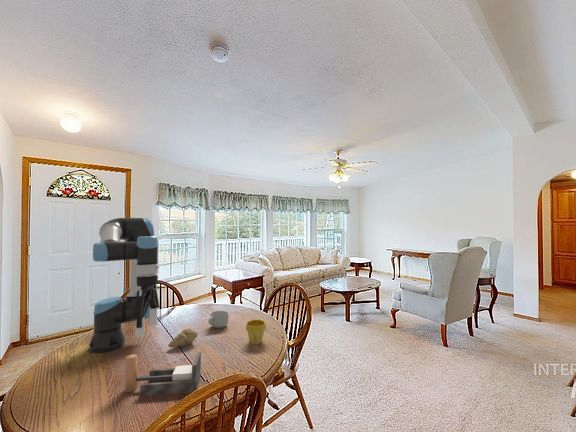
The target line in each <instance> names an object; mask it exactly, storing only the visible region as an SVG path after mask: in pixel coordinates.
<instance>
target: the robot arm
mask: <svg viewBox="0 0 576 432" xmlns="http://www.w3.org/2000/svg"><path fill="white" fill-rule="evenodd" d="M98 235H99V237H100V242H96V243H95V242H94V244H93V245H92V259H93V261H94V262H97V263H98V262H102V263H104V262H105V263H106V262H115V261H116V262H117V261H129V292H128V293H127V294H126V297H125V299H123V298H122V297H121V296H112V297H111V296H110V297H107V298H104V299H101V300H99V301H97V302H96V303H95V305H94V308H93V309H94V310H93V334H92V336H91V340H90V342H89V344H88V345H89V347H88V351H89V352H91V353H94V354H95V353H96V354H99V353H108V352H112V351H115V350H118V349H120V348H121V347H123V346H124V345H125V343H126V339H125V335H124V331H123V330H122V324H124V323H125V324H126V323H129V322H135V338H139V337H144V336H145V320H149V323H148V325H149V326H157V325H158V309H159V308H160V301H159V297H158V296H159V295H158V292H157V285H158V284H159V280H158V279H159V276H158V271H159V270H158V269H159V268H160V266H159V265H158V261H159V260H158V255H159V252H158V251H159V241H158V236H156V235H155V229H154V224H153V221H152V219H151V218H146V217H116V218H113V219H110V220H107V221H106V222H105V223H103V224H102V225H101V226H100V228H99V231H98Z"/></svg>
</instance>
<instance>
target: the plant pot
mask: <svg viewBox="0 0 576 432" xmlns="http://www.w3.org/2000/svg"><path fill="white" fill-rule="evenodd" d="M266 329H267V322H266V321H265V320H264V319H251V320H248V321H247V322H246V324H245V330H246V332H247V336H248V340H249V343H250V344H251V345H258V344H261V343H262V342H263V339H264V333H265V331H266Z"/></svg>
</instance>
